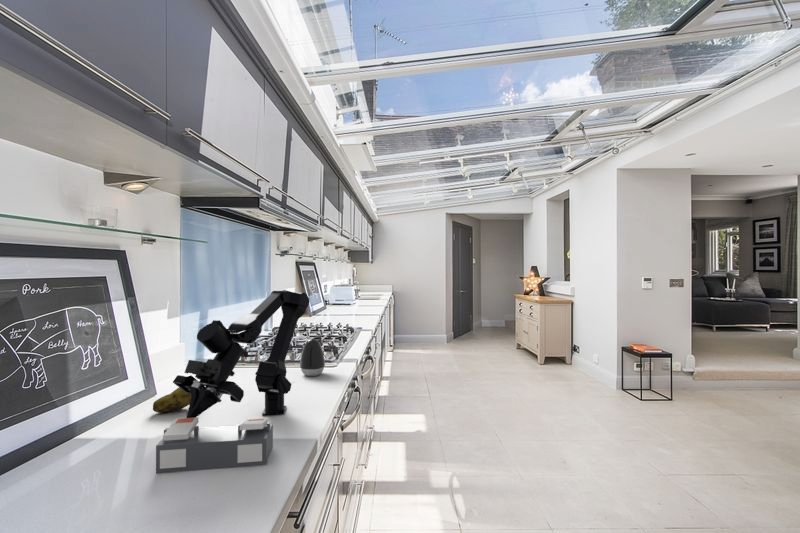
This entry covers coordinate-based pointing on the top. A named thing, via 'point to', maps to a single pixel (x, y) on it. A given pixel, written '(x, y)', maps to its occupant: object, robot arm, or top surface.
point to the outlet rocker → (180, 429)
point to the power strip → (215, 449)
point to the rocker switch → (253, 424)
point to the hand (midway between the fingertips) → (188, 420)
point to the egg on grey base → (312, 358)
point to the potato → (172, 401)
